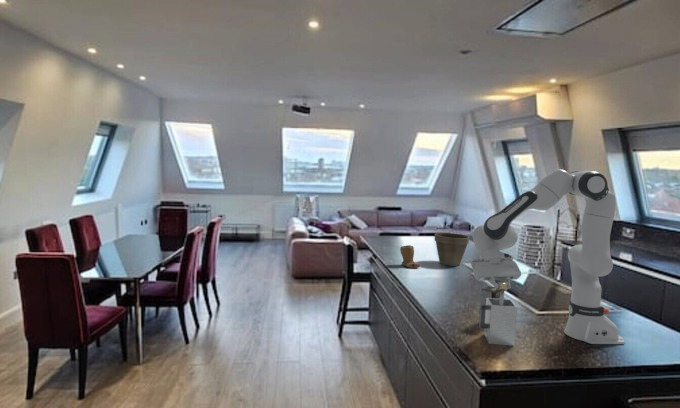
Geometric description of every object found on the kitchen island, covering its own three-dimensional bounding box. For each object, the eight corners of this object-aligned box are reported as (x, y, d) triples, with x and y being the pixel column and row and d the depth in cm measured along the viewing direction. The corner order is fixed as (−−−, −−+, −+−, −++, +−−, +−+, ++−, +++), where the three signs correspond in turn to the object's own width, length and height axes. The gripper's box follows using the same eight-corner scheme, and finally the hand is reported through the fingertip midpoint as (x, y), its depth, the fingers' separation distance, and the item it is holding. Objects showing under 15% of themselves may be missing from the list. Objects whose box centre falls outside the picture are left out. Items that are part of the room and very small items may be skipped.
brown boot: (397, 264, 316) (398, 243, 315) (413, 264, 318) (414, 243, 317) (404, 269, 301) (405, 247, 300) (420, 268, 303) (421, 247, 302)
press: (508, 336, 185) (510, 299, 184) (514, 345, 175) (517, 307, 174) (476, 333, 187) (479, 297, 185) (481, 342, 177) (483, 304, 176)
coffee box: (492, 327, 195) (494, 292, 194) (478, 323, 199) (480, 289, 198) (499, 322, 202) (501, 288, 201) (485, 318, 206) (487, 285, 205)
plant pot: (469, 262, 329) (471, 234, 327) (465, 269, 306) (467, 239, 304) (436, 258, 339) (438, 231, 337) (429, 265, 316) (431, 235, 314)
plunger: (506, 332, 184) (510, 280, 182) (511, 340, 176) (515, 286, 174) (487, 331, 185) (490, 279, 183) (491, 338, 177) (494, 284, 175)
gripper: (472, 255, 182) (483, 285, 174) (515, 255, 187) (528, 283, 178) (466, 263, 187) (477, 292, 178) (509, 263, 191) (521, 291, 183)
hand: (503, 288), depth 178 cm, fingers closed on plunger, 4 cm apart
